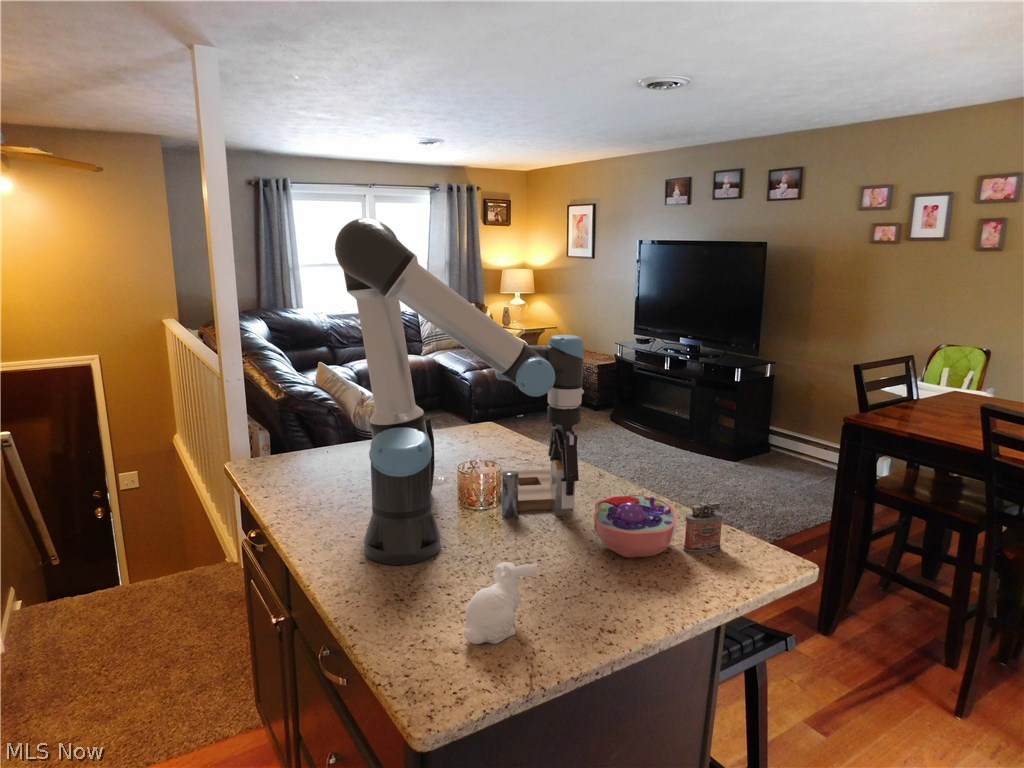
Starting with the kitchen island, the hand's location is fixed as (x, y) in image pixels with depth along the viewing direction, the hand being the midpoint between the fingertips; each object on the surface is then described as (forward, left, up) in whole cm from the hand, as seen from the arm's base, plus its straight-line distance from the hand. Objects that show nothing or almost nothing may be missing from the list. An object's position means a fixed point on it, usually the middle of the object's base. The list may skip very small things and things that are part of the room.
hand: (561, 497), depth 143 cm
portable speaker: (+15, +33, -4) cm, 36 cm away
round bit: (0, +12, -4) cm, 13 cm away
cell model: (-20, -10, -4) cm, 23 cm away
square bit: (0, 0, -4) cm, 4 cm away
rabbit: (-43, +21, -4) cm, 48 cm away
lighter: (-22, -24, -4) cm, 33 cm away
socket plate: (+12, +5, -3) cm, 13 cm away
